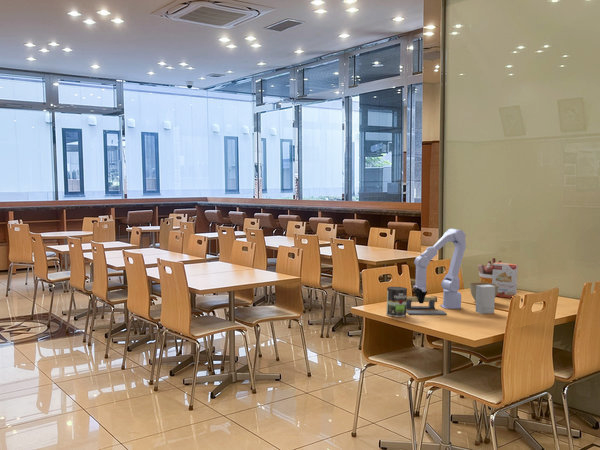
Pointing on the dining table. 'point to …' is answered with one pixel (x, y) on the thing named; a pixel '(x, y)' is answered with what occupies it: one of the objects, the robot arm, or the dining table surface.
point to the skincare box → (485, 299)
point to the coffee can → (396, 301)
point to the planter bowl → (473, 285)
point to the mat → (425, 312)
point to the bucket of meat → (486, 272)
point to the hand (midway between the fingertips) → (420, 302)
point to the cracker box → (505, 279)
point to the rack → (431, 306)
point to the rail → (426, 299)
